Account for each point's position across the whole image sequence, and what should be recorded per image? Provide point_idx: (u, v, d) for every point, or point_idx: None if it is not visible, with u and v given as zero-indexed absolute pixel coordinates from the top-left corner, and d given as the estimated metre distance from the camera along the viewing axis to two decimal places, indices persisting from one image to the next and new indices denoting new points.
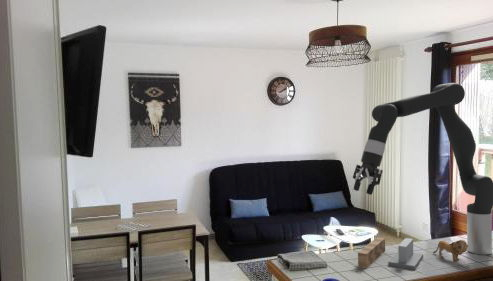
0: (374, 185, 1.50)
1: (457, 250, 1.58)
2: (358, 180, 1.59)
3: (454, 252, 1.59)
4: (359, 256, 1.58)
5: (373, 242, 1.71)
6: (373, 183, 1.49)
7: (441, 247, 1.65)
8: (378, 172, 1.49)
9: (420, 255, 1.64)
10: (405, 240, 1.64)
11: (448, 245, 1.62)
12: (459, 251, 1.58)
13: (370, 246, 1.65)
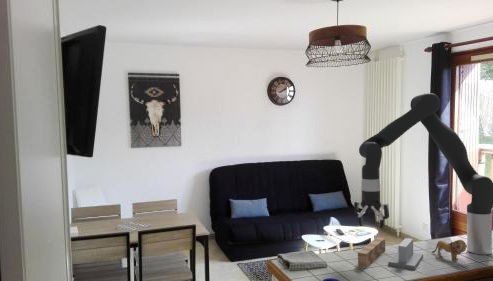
0: (384, 219, 1.64)
1: (456, 250, 1.59)
2: (361, 216, 1.69)
3: (453, 252, 1.60)
4: (359, 256, 1.58)
5: (373, 242, 1.71)
6: (385, 218, 1.63)
7: (440, 247, 1.66)
8: (387, 207, 1.62)
9: (420, 255, 1.64)
10: (405, 240, 1.64)
11: (447, 245, 1.63)
12: (458, 251, 1.58)
13: (370, 246, 1.65)
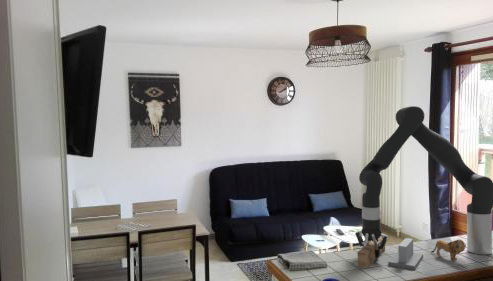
0: (379, 248, 1.66)
1: (455, 249, 1.59)
2: None
3: (452, 251, 1.60)
4: (359, 256, 1.58)
5: None
6: (380, 248, 1.64)
7: (439, 246, 1.66)
8: (386, 239, 1.63)
9: (420, 255, 1.64)
10: (405, 240, 1.64)
11: (446, 245, 1.63)
12: (457, 250, 1.59)
13: (369, 246, 1.65)
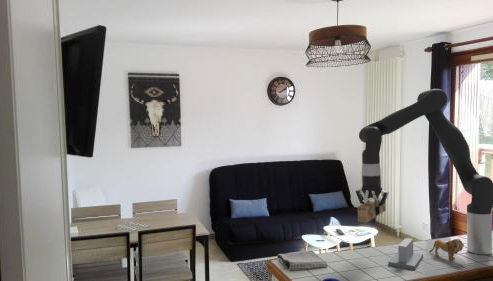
0: (380, 205, 1.65)
1: (453, 249, 1.60)
2: None
3: (450, 251, 1.61)
4: (359, 211, 1.57)
5: (373, 200, 1.70)
6: (380, 205, 1.63)
7: (437, 246, 1.67)
8: (386, 196, 1.62)
9: (420, 255, 1.64)
10: (405, 240, 1.64)
11: (444, 244, 1.64)
12: (455, 250, 1.59)
13: (370, 203, 1.64)
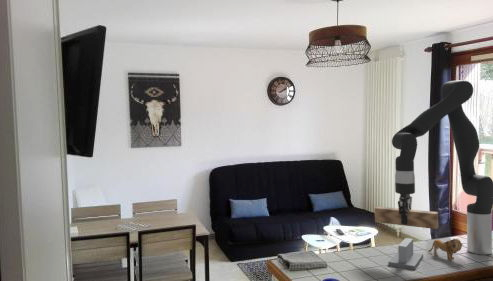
0: (404, 215, 1.58)
1: (451, 249, 1.60)
2: None
3: (448, 251, 1.61)
4: None
5: (415, 210, 1.60)
6: (401, 214, 1.59)
7: (436, 246, 1.67)
8: (400, 205, 1.56)
9: (420, 255, 1.64)
10: (405, 240, 1.64)
11: (443, 244, 1.64)
12: (453, 250, 1.60)
13: (398, 209, 1.63)
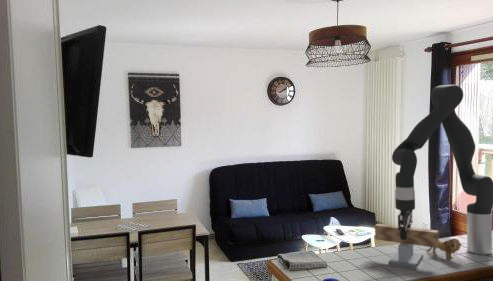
0: (403, 231, 1.57)
1: (450, 248, 1.61)
2: None
3: (447, 250, 1.62)
4: None
5: (415, 228, 1.60)
6: (400, 229, 1.57)
7: None
8: (399, 219, 1.56)
9: (420, 255, 1.64)
10: None
11: (441, 244, 1.65)
12: (452, 249, 1.60)
13: None
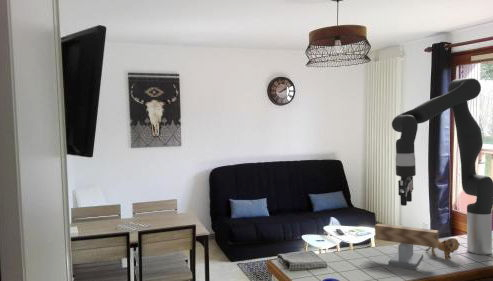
0: (404, 196, 1.56)
1: (449, 248, 1.61)
2: (407, 191, 1.64)
3: (446, 250, 1.62)
4: None
5: (415, 228, 1.60)
6: (400, 195, 1.56)
7: None
8: (400, 184, 1.55)
9: (420, 255, 1.64)
10: None
11: (440, 243, 1.65)
12: (451, 249, 1.61)
13: (398, 227, 1.63)
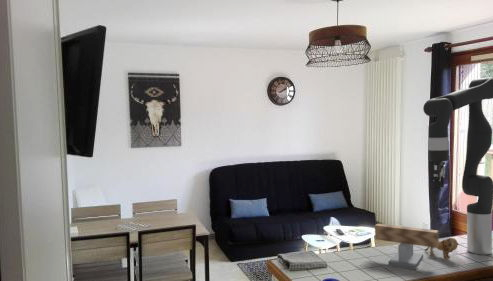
0: (437, 181, 1.53)
1: (447, 248, 1.62)
2: None
3: (445, 250, 1.63)
4: None
5: (415, 228, 1.60)
6: (434, 180, 1.53)
7: None
8: (434, 168, 1.52)
9: (420, 255, 1.64)
10: None
11: (439, 243, 1.66)
12: (449, 249, 1.61)
13: (398, 227, 1.63)
